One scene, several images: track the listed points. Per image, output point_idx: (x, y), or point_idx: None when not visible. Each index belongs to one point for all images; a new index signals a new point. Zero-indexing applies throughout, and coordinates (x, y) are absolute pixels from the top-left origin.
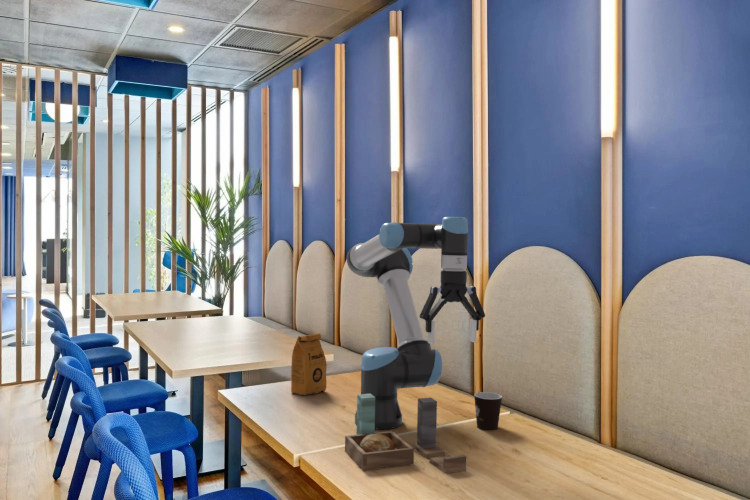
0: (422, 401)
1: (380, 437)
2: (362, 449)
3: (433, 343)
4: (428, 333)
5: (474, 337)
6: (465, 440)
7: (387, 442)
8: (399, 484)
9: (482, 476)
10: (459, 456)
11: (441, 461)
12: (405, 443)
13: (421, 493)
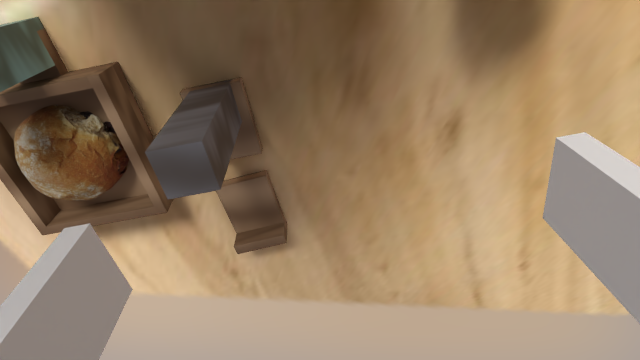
0: (163, 189)
1: (65, 188)
2: (32, 208)
3: (121, 297)
4: (6, 318)
5: (579, 251)
6: (353, 35)
7: (92, 188)
8: (146, 267)
9: (310, 248)
10: (271, 242)
11: (238, 207)
12: (144, 178)
13: (184, 295)
